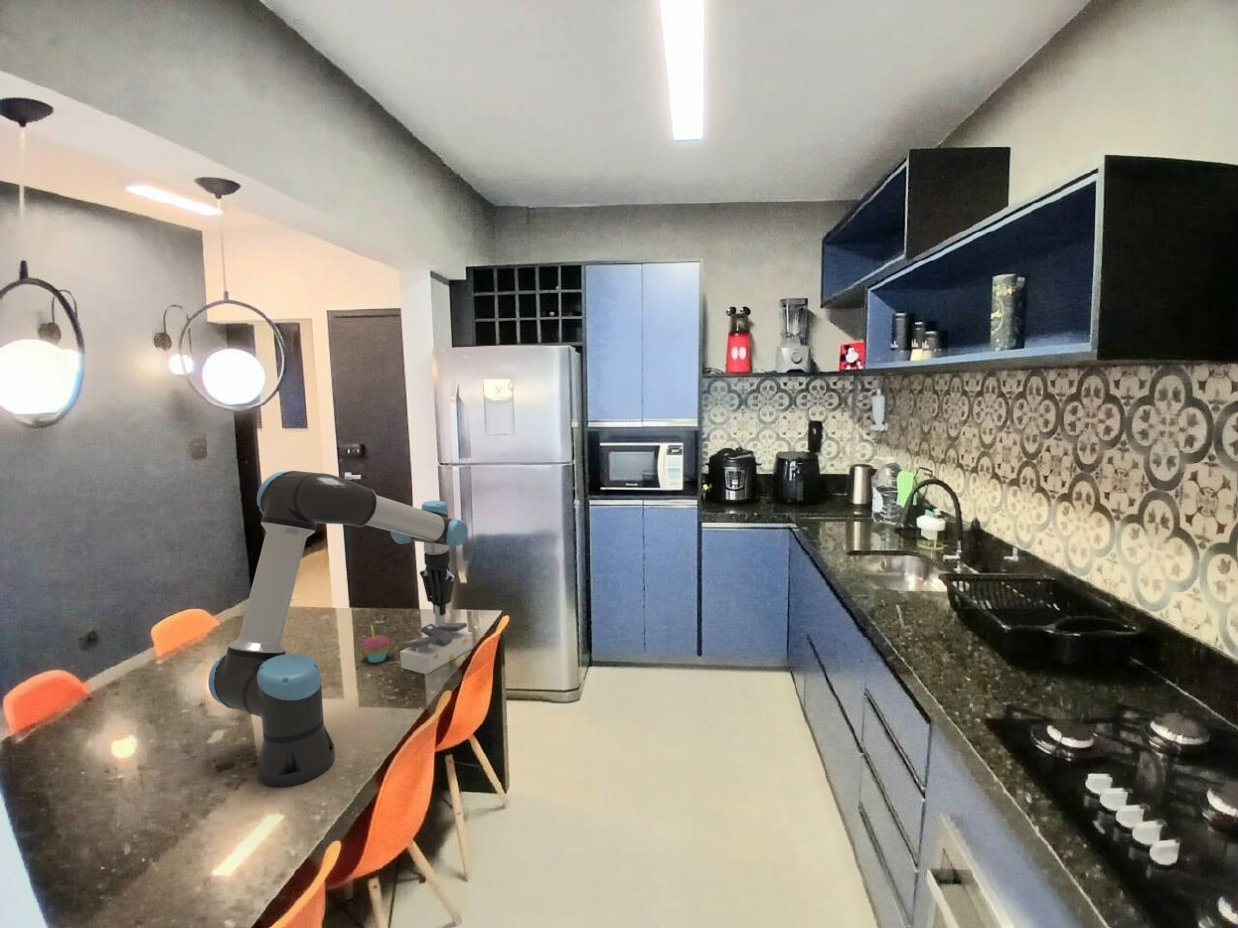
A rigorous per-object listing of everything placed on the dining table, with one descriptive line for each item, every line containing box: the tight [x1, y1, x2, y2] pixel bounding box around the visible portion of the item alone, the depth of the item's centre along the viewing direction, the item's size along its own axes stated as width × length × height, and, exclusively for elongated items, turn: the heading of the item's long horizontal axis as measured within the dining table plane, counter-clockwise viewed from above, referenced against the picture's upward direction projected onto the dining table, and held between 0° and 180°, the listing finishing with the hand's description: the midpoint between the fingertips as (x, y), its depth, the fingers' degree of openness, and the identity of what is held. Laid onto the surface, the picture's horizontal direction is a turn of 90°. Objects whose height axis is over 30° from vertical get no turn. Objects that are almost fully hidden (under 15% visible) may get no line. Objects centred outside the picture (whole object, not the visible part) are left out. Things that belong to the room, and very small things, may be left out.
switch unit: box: [399, 629, 474, 675], centre depth 190 cm, size 20×10×6 cm, turn 153°
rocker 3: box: [437, 622, 468, 631], centre depth 195 cm, size 4×9×1 cm, turn 63°
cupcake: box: [360, 623, 392, 664], centre depth 189 cm, size 9×8×12 cm
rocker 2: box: [420, 623, 453, 645], centre depth 190 cm, size 4×9×1 cm, turn 63°
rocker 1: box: [405, 636, 438, 648], centre depth 184 cm, size 4×9×1 cm, turn 63°
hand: (440, 624), depth 197 cm, fingers closed
